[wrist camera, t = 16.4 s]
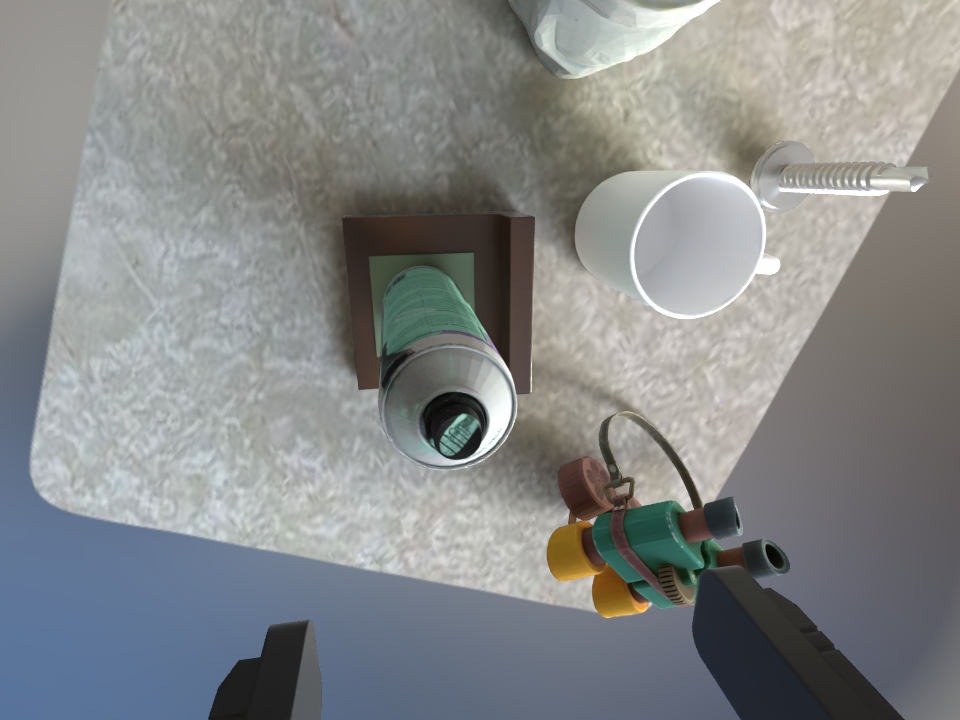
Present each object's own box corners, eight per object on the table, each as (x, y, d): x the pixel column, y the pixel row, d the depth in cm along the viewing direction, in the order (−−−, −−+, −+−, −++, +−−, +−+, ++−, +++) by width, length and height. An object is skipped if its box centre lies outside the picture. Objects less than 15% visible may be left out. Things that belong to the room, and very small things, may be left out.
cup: (589, 158, 38) (657, 153, 28) (735, 198, 40) (842, 205, 31) (558, 273, 40) (610, 304, 31) (697, 303, 43) (786, 341, 33)
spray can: (377, 336, 37) (365, 501, 18) (389, 258, 36) (389, 352, 17) (453, 348, 38) (516, 514, 20) (469, 273, 37) (552, 376, 18)
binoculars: (546, 413, 47) (513, 569, 36) (692, 345, 39) (707, 519, 28) (637, 502, 52) (632, 664, 41) (784, 458, 44) (827, 644, 33)
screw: (805, 153, 40) (777, 218, 41) (752, 133, 39) (725, 200, 40) (986, 145, 28) (938, 237, 29) (916, 116, 27) (870, 212, 28)
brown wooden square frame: (359, 380, 40) (355, 407, 36) (344, 215, 36) (337, 221, 32) (515, 369, 42) (531, 394, 37) (517, 211, 38) (535, 216, 33)
